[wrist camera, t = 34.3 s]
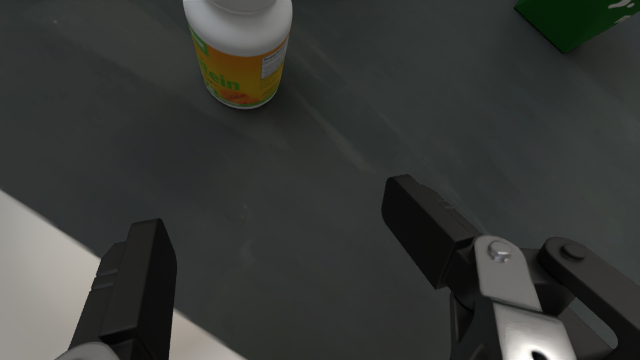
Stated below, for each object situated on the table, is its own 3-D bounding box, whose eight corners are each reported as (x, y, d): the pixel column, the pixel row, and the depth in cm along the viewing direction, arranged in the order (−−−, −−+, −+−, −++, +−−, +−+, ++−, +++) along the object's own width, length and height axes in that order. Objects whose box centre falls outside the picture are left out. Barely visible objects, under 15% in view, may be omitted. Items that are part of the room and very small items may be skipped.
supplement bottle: (186, 77, 20) (131, -64, 11) (237, 30, 22) (227, -128, 12) (248, 126, 20) (247, 30, 11) (294, 76, 22) (326, -44, 13)
